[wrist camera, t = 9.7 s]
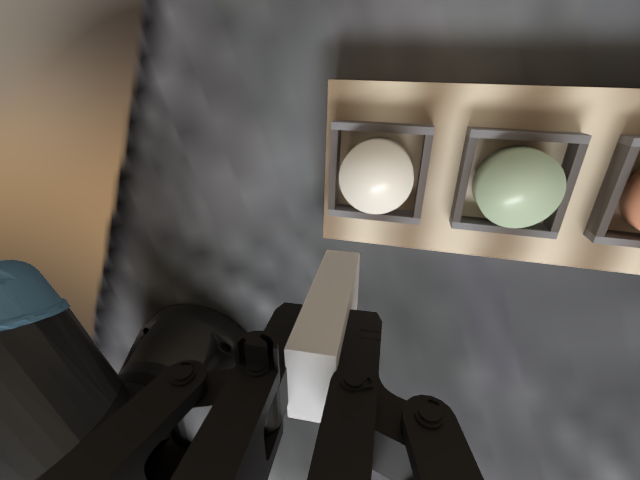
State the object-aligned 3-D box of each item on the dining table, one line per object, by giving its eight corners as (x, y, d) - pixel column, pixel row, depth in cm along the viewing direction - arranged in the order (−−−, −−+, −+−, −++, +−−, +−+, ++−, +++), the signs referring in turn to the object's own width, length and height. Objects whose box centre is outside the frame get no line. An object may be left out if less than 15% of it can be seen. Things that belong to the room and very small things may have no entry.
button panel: (330, 224, 32) (319, 245, 28) (336, 79, 27) (323, 79, 23) (661, 260, 27) (705, 292, 23) (745, 91, 22) (820, 94, 18)
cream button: (341, 201, 27) (337, 210, 25) (345, 134, 25) (340, 139, 23) (408, 208, 26) (408, 217, 24) (418, 138, 24) (419, 143, 22)
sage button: (465, 213, 25) (469, 223, 23) (480, 142, 23) (486, 147, 21) (541, 221, 24) (552, 232, 22) (564, 147, 22) (578, 153, 20)
